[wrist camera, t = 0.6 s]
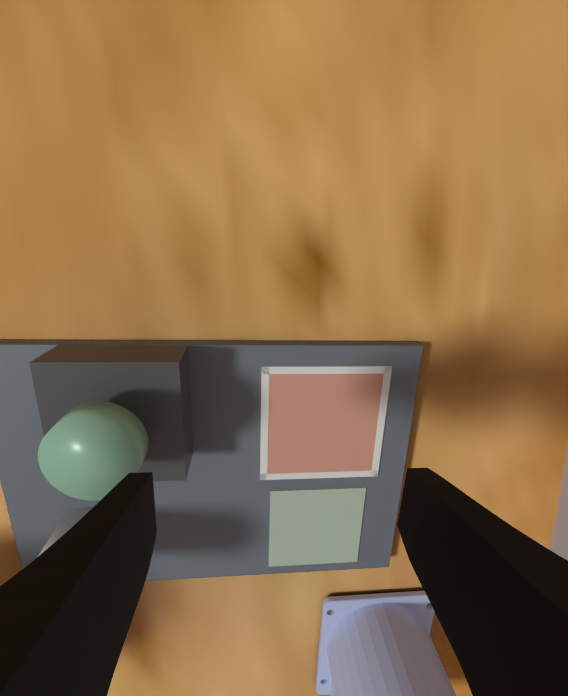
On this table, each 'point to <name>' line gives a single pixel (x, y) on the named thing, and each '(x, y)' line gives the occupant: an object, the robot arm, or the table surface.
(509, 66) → the table surface
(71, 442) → the button
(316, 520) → the activity board
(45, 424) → the button housing
